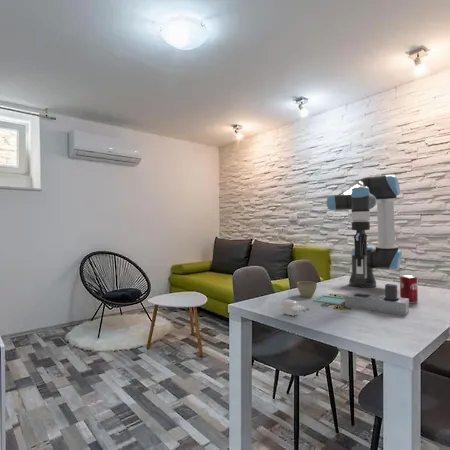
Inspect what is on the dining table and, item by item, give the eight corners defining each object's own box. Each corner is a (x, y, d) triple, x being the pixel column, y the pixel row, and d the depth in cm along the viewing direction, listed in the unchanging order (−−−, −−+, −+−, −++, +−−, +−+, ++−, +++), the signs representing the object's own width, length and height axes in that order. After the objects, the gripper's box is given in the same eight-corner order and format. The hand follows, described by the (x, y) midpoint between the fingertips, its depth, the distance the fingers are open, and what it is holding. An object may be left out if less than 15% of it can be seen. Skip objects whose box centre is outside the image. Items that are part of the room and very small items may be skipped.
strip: (356, 298, 159) (356, 276, 159) (411, 305, 145) (411, 281, 145) (345, 307, 143) (344, 282, 143) (405, 315, 129) (405, 288, 129)
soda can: (398, 301, 151) (398, 276, 151) (402, 299, 157) (402, 274, 157) (415, 304, 146) (415, 278, 146) (419, 301, 152) (419, 276, 152)
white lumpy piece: (310, 317, 128) (310, 302, 128) (304, 320, 125) (303, 305, 125) (287, 312, 136) (287, 298, 136) (281, 314, 133) (280, 300, 133)
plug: (357, 276, 146) (357, 255, 146) (367, 277, 144) (366, 255, 144) (355, 277, 143) (355, 255, 143) (364, 278, 140) (364, 256, 140)
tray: (322, 296, 164) (322, 294, 164) (348, 300, 156) (348, 298, 156) (313, 301, 153) (312, 300, 153) (340, 305, 146) (340, 303, 146)
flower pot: (309, 300, 157) (309, 285, 157) (293, 296, 165) (293, 283, 165) (320, 296, 164) (320, 283, 164) (304, 293, 171) (304, 280, 171)
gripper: (356, 221, 152) (357, 270, 152) (346, 221, 139) (347, 274, 139) (373, 221, 148) (374, 271, 148) (364, 221, 134) (365, 276, 134)
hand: (361, 273), depth 143 cm, fingers closed on plug, 4 cm apart
